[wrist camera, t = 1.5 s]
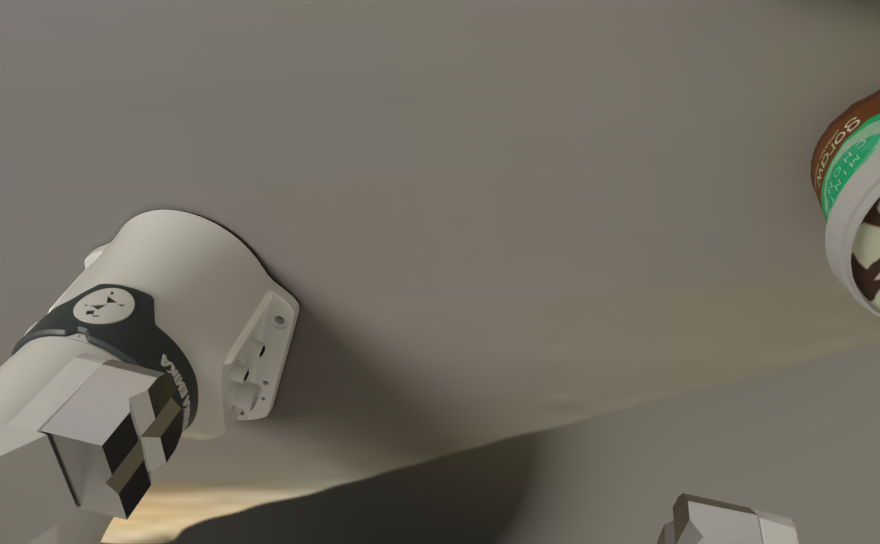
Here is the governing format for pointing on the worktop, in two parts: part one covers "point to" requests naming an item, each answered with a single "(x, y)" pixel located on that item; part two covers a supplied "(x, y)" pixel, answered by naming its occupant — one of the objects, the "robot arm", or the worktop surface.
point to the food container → (852, 198)
